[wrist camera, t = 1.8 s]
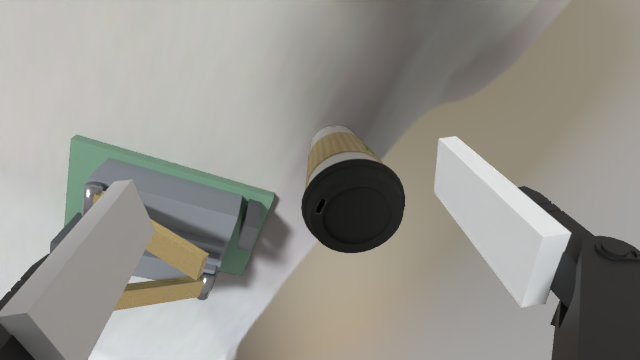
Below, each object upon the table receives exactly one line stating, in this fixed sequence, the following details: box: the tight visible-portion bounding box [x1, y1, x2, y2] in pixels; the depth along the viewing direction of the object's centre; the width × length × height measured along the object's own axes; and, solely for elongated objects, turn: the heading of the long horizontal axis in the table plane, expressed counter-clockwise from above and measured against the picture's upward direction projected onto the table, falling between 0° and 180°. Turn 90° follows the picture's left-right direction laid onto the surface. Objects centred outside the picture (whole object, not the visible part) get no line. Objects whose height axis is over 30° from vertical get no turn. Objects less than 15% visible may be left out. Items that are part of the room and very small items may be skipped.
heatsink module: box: [50, 135, 274, 291], centre depth 42 cm, size 24×15×7 cm, turn 67°
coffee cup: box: [301, 125, 405, 253], centre depth 36 cm, size 10×10×15 cm
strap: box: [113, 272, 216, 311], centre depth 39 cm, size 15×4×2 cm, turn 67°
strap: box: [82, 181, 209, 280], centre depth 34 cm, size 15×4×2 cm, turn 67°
